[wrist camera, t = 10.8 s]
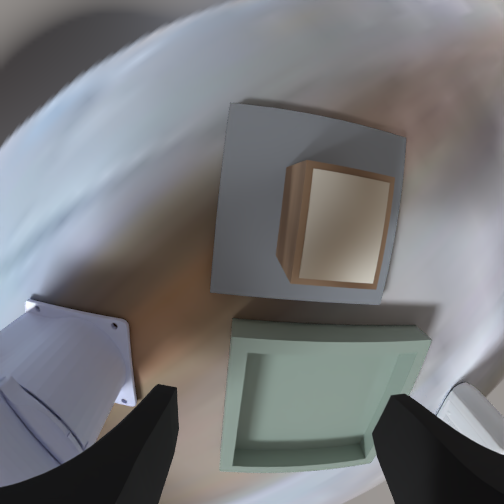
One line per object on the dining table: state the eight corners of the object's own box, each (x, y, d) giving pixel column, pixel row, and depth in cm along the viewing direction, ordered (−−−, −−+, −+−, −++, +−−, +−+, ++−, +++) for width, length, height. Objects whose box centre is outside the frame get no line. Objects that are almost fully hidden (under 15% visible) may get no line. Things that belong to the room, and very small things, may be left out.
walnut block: (275, 255, 17) (290, 284, 12) (286, 167, 16) (307, 159, 11) (340, 261, 17) (377, 290, 12) (352, 178, 16) (396, 177, 11)
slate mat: (211, 286, 18) (210, 292, 17) (230, 107, 16) (230, 102, 15) (373, 299, 19) (379, 304, 18) (398, 139, 16) (406, 138, 15)
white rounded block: (438, 442, 24) (481, 507, 12) (412, 450, 24) (453, 523, 12) (474, 377, 22) (538, 442, 10) (448, 384, 22) (515, 461, 10)
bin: (220, 450, 22) (219, 471, 19) (232, 318, 19) (232, 336, 16) (363, 445, 23) (370, 462, 20) (415, 325, 20) (431, 339, 17)
